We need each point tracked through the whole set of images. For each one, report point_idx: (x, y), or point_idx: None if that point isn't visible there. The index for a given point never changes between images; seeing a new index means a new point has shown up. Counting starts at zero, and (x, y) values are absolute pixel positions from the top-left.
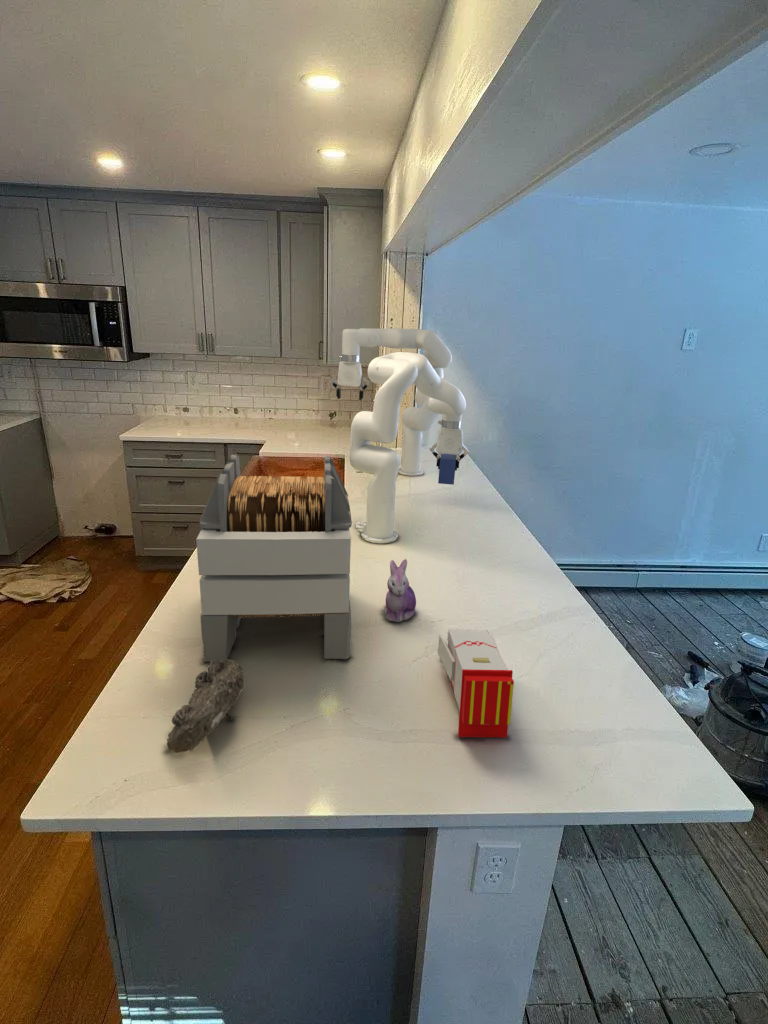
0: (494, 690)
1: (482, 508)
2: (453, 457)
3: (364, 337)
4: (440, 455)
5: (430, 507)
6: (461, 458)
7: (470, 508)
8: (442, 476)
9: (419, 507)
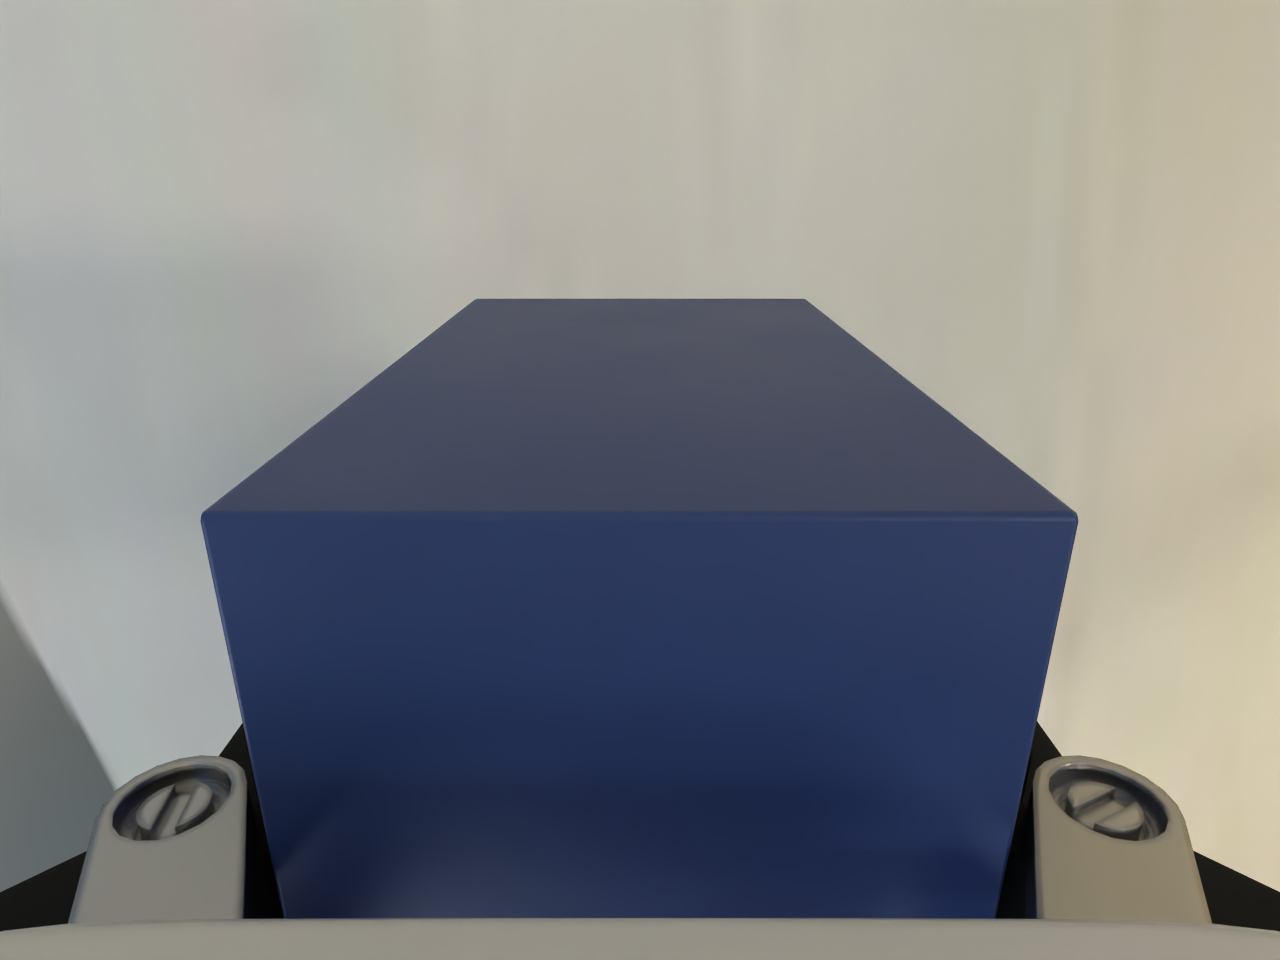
0: None
1: (144, 355)
2: (405, 897)
3: None
4: (1053, 901)
5: (819, 203)
6: (45, 887)
7: (292, 312)
8: (745, 326)
9: (972, 159)
